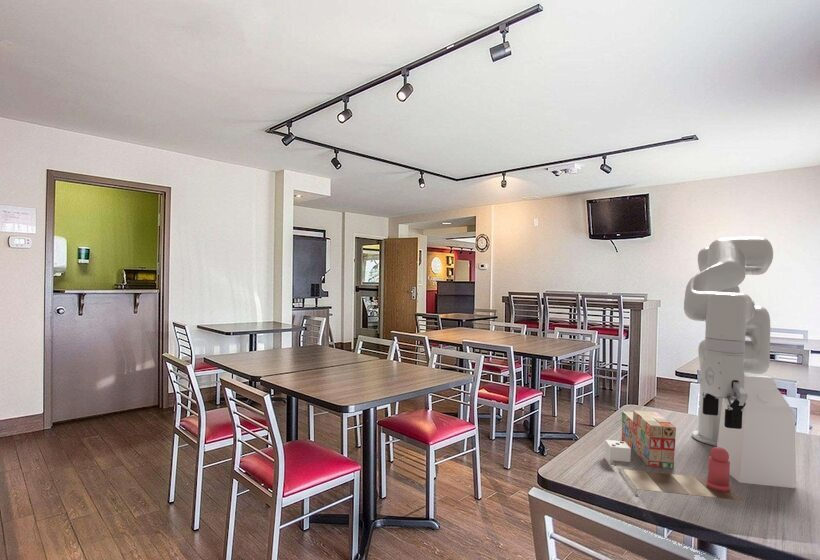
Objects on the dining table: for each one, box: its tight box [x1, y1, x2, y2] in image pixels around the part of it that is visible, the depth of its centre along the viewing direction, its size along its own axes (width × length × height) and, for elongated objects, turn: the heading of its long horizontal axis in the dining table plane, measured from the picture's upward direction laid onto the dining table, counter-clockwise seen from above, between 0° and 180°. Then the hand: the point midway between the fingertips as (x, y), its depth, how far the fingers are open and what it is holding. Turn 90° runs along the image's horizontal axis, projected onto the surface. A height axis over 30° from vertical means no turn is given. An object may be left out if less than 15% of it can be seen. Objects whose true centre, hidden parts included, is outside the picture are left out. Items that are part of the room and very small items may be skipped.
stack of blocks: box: [621, 410, 677, 469], centre depth 123 cm, size 21×6×12 cm, turn 172°
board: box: [618, 468, 744, 501], centre depth 103 cm, size 23×12×1 cm, turn 81°
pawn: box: [706, 446, 731, 492], centre depth 102 cm, size 4×4×9 cm
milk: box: [716, 374, 797, 489], centre depth 110 cm, size 12×12×26 cm
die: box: [604, 439, 632, 467], centre depth 118 cm, size 5×5×5 cm
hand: (721, 421), depth 102 cm, fingers open, 9 cm apart
